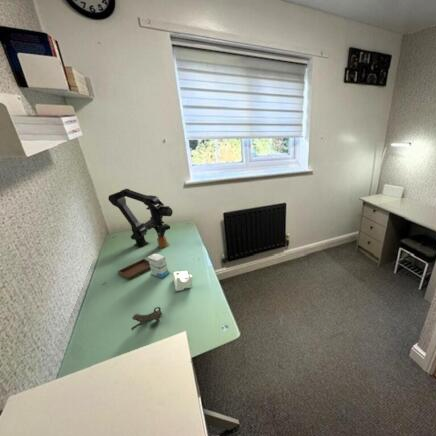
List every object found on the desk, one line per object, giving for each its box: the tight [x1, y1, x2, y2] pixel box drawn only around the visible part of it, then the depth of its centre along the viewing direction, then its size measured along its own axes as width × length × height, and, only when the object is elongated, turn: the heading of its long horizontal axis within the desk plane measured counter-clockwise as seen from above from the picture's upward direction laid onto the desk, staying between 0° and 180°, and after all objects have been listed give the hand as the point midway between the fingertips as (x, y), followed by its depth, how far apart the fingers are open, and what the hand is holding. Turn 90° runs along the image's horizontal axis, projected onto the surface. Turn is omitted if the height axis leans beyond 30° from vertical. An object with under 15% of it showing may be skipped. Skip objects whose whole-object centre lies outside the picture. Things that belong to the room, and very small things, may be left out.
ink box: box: [147, 253, 169, 279], centre depth 135 cm, size 8×5×12 cm, turn 65°
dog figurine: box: [130, 306, 163, 331], centre depth 103 cm, size 12×6×7 cm, turn 114°
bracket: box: [172, 270, 193, 292], centre depth 129 cm, size 13×7×8 cm, turn 31°
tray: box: [117, 258, 151, 281], centre depth 140 cm, size 11×15×2 cm
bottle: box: [156, 235, 169, 249], centre depth 164 cm, size 6×6×9 cm
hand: (161, 236), depth 163 cm, fingers closed on cap, 4 cm apart
